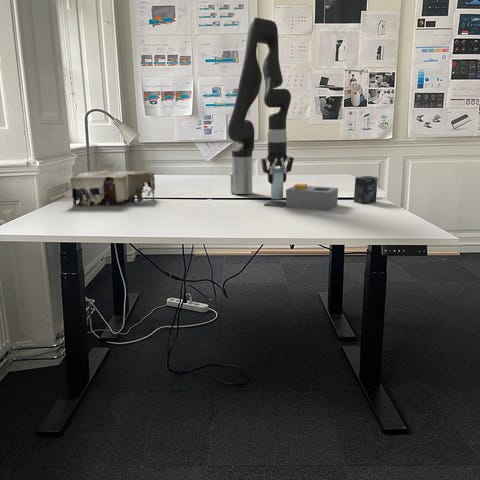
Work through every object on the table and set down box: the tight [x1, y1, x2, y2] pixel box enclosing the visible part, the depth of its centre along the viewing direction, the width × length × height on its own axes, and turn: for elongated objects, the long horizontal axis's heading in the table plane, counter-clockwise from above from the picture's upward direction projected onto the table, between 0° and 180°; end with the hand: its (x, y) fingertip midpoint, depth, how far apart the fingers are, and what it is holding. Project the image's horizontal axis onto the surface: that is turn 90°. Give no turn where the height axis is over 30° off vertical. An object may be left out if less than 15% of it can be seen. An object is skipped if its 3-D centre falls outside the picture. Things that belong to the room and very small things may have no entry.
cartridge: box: [270, 167, 284, 200], centre depth 200 cm, size 5×5×12 cm
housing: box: [285, 185, 339, 211], centre depth 199 cm, size 18×12×7 cm, turn 63°
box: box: [353, 175, 379, 205], centre depth 204 cm, size 8×6×11 cm
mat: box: [263, 200, 286, 208], centre depth 203 cm, size 8×8×1 cm
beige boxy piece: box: [70, 170, 156, 207], centre depth 208 cm, size 18×32×13 cm, turn 89°
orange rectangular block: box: [294, 183, 308, 189], centre depth 201 cm, size 4×4×5 cm
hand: (277, 182), depth 200 cm, fingers closed on cartridge, 5 cm apart
